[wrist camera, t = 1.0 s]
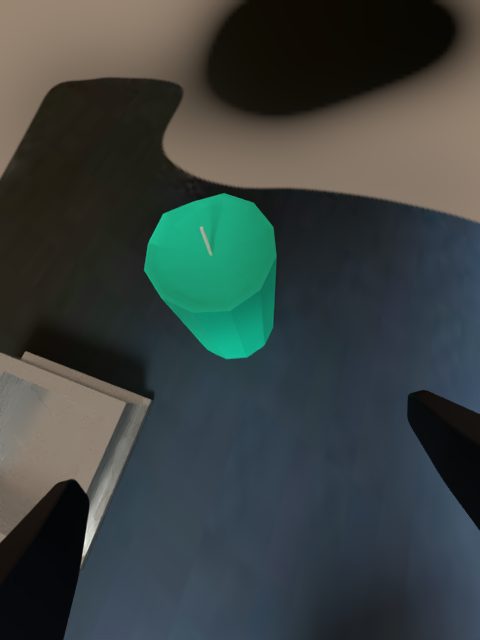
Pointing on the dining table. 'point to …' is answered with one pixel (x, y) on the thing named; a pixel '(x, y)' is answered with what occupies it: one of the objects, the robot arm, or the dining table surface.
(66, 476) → the white tray
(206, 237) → the candle
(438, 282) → the dining table surface
